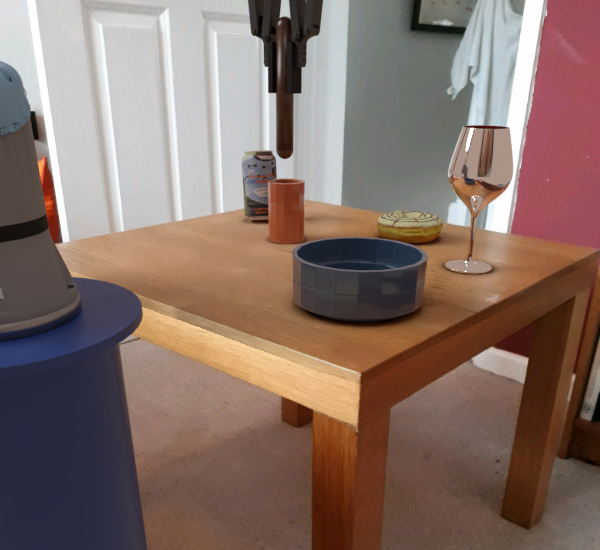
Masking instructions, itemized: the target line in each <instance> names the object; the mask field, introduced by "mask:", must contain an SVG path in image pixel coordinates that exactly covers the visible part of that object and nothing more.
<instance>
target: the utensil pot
mask: <svg viewBox="0 0 600 550" xmlns="http://www.w3.org/2000/svg"><path fill="white" fill-rule="evenodd" d="M305 185H306V182H305V180H303V179H300V178H299V179H298V178H287V177H286V178H277V179H273V180H269V181H268V216H269V219H268V239H269V241H270V242H272V243H275V244H285V245H291V244H298V243H299V244H300V243H302V242H303V241H304V240H305V202H306V200H305V196H306V195H305V193H306V192H305V188H306V187H305Z"/></svg>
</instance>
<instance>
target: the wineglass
mask: <svg viewBox="0 0 600 550" xmlns="http://www.w3.org/2000/svg"><path fill="white" fill-rule="evenodd" d="M456 141H457V142H456V144H455V147H454V149H453V153H452V155H451V159H450V161H449V165H448V169H447V181H448V184H449V186H450V188H451V190H452V192H453V193H454V194H455V195H456V196H457V198H458V199H459V200H460V201H461V202H462V203H463V205H464V206H466V208H467V210H468V211H469V213H470V224H469V231H468V233H469V234H468V239H467V246H466V253H465V257H464V259H452V260H448V261H446V262H445V264H444V267H445V269H447V270H449V271H452V272H455V273H460V274H467V275H478V274H479V275H481V274H486V273H489V272H491V271H492V269H493V267H492V265H490V264H489V263H488V262H484V261H480V260H475V259H474V260H473V255H474V254H473V253H474V245H475V236H476V231H477V230H476V229H477V222H478V217H479V215H480V213H481V212H482V211H483V210H484V209H485V208H486V207H487V206H489V204H491V203H492V202H494V201H495V200H497V199H498V198H499V197H500V196H501V195H503V193H504V192H506V190H507V189H508V187H510V184H511V182H512V180H513V176H514V158H513V157H514V156H513V145H512V135H511V129H510V127H509V126H502V125H488V124H487V125H481V124H480V125H479V124H478V125H477V124H476V125H475V124H473V125H463V126H462V128H461V130H460V133H459V135H458V139H457V140H456Z"/></svg>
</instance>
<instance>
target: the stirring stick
mask: <svg viewBox="0 0 600 550" xmlns="http://www.w3.org/2000/svg"><path fill="white" fill-rule="evenodd" d="M289 36H292V29H291V18H290V16H286V15H285V16H284V15H283V16H280V18H279V19H278V21H277V23H276V93H275V139H276V140H275V152H276V154H277V156H278V157H279V158H280V159H282V160H287V159H290V158H291V157H292V156H293V154H294V130H295V129H294V128H295V127H294V126H295V125H294V120H295V119H294V118H295V115H294V111H295V105H294V104H295V94H287V41H293V42H294V40H291V39H290V37H289Z"/></svg>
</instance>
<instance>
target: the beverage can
mask: <svg viewBox="0 0 600 550" xmlns="http://www.w3.org/2000/svg"><path fill="white" fill-rule="evenodd" d="M241 170H242V171H241V172H242V173H241V174H242V190H243V207H244V208H243V209H244V216H245V217H246V218H248V220H250V221H261V220H262V221H263V220H269V216H268V181H269V180H273V179H278V177H277V176H278V175H277V174H278V172H277V158H276V156H275V155H274V153H273V150H272V149H271V150H269V149H267V150H266V149H263V150H262V149H261V150H246V151H244V154H243V156H242V158H241Z"/></svg>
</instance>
